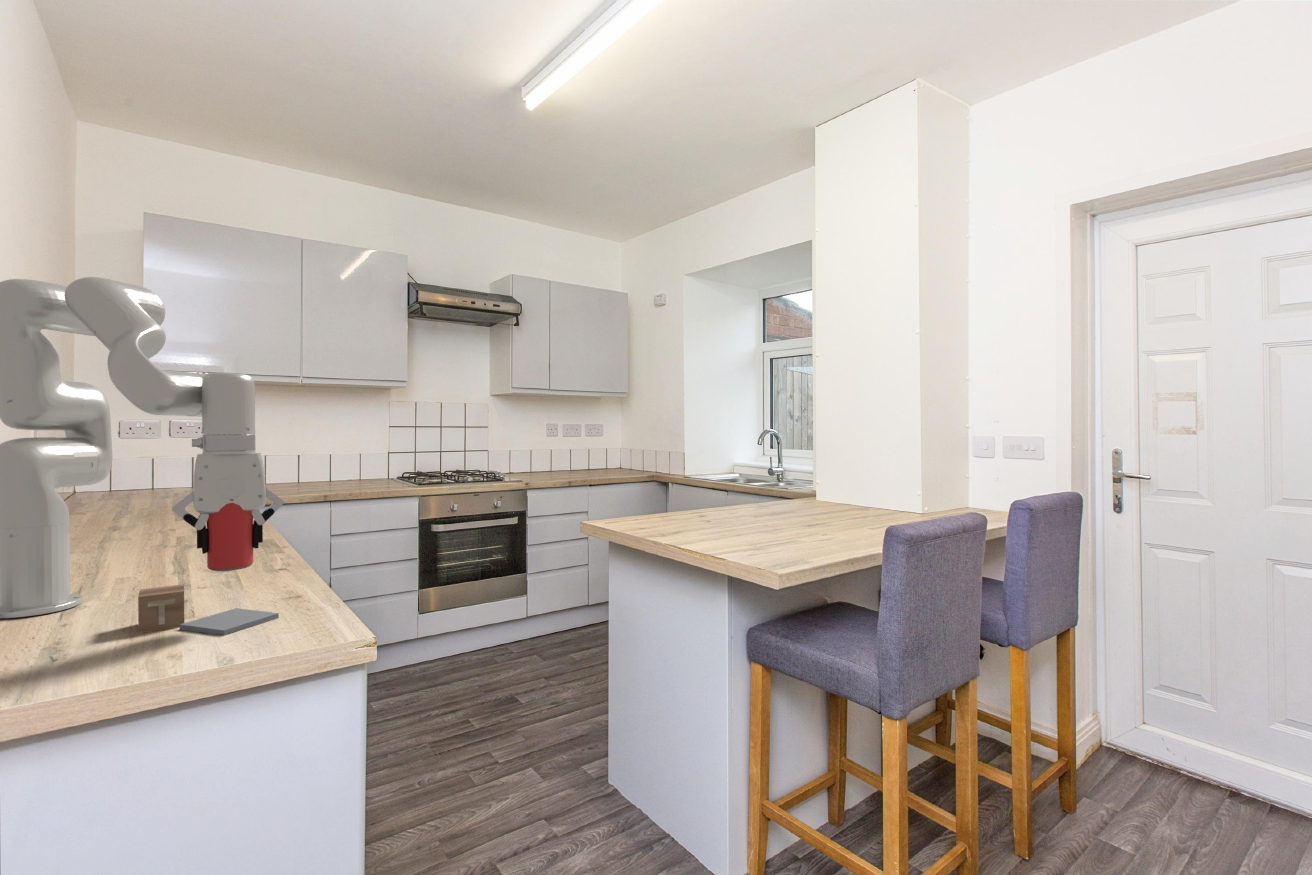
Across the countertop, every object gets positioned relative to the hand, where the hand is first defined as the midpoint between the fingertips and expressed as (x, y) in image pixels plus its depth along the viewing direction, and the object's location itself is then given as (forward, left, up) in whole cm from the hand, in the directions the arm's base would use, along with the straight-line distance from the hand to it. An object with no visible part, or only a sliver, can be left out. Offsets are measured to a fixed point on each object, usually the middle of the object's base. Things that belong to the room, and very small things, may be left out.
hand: (230, 548), depth 107 cm
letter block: (-10, -4, -13) cm, 17 cm away
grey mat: (0, 0, -13) cm, 13 cm away
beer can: (0, 0, -3) cm, 3 cm away
